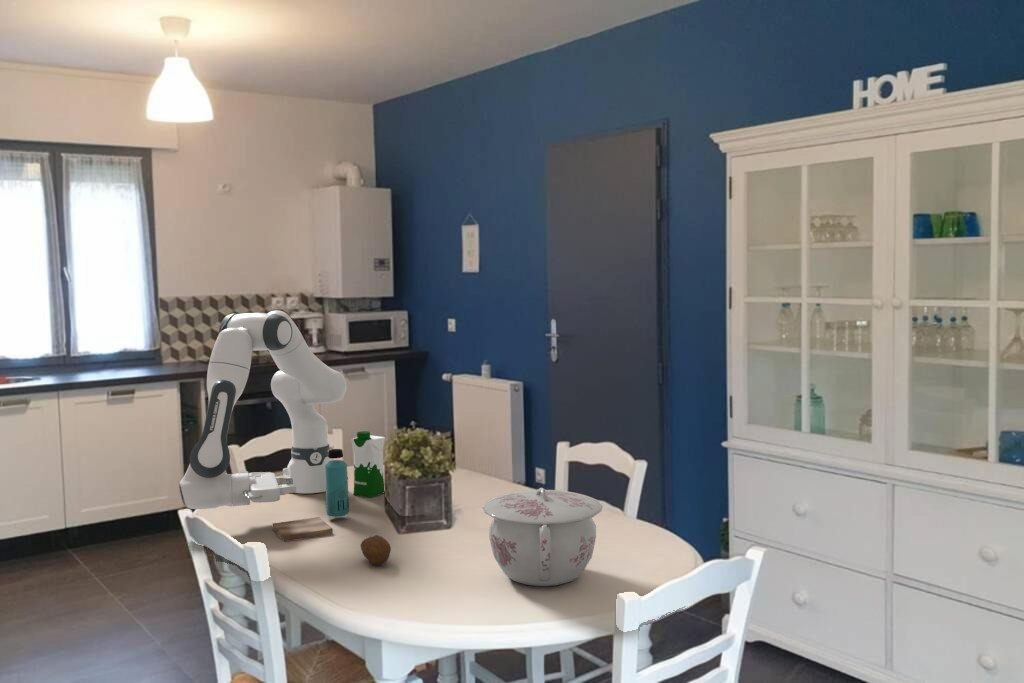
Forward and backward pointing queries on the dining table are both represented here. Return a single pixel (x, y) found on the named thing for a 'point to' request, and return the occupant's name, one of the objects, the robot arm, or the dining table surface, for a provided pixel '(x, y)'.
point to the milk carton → (368, 464)
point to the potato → (376, 549)
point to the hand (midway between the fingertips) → (294, 484)
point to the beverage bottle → (336, 485)
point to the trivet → (302, 529)
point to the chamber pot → (542, 534)
